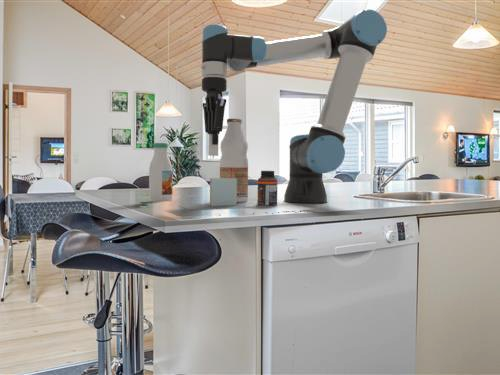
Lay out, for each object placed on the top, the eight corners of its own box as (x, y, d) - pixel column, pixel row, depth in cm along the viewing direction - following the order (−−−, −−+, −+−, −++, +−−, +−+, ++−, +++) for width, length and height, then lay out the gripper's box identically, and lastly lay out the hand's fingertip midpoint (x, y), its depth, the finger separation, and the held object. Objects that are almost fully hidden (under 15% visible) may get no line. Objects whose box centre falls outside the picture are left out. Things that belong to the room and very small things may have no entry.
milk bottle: (153, 203, 144) (153, 142, 143) (146, 202, 150) (145, 143, 149) (175, 203, 148) (175, 143, 147) (167, 201, 154) (167, 143, 153)
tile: (234, 204, 133) (234, 178, 133) (236, 204, 132) (236, 178, 132) (209, 205, 130) (210, 178, 129) (211, 205, 128) (212, 178, 128)
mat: (233, 206, 136) (233, 203, 136) (253, 211, 125) (253, 207, 125) (177, 209, 128) (177, 205, 128) (193, 214, 116) (193, 210, 116)
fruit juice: (216, 204, 144) (216, 117, 142) (224, 202, 153) (224, 120, 152) (244, 205, 142) (244, 117, 140) (250, 202, 151) (251, 120, 149)
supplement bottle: (254, 207, 135) (254, 170, 135) (271, 206, 138) (272, 170, 137) (262, 209, 130) (263, 170, 129) (280, 208, 132) (281, 170, 132)
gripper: (195, 80, 139) (194, 155, 140) (211, 73, 127) (210, 155, 129) (216, 82, 142) (215, 156, 144) (234, 76, 131) (233, 155, 132)
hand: (213, 155), depth 136 cm, fingers closed
